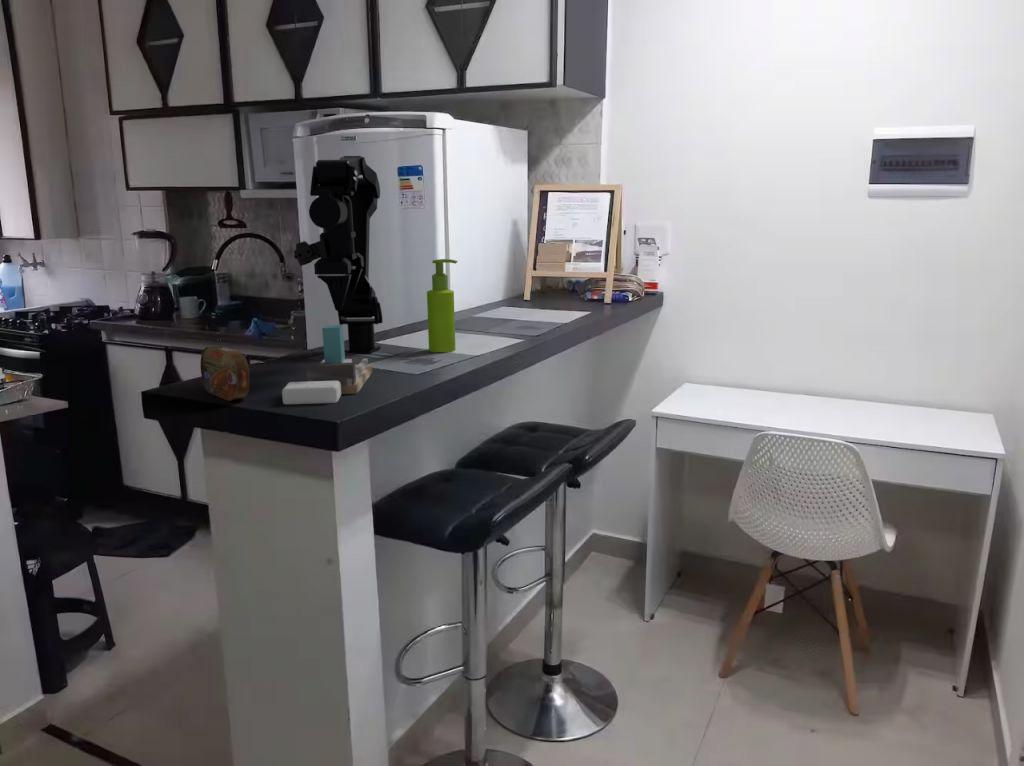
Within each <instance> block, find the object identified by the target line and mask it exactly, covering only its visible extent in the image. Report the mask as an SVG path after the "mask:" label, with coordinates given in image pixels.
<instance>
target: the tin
mask: <svg viewBox="0 0 1024 766" xmlns="http://www.w3.org/2000/svg"><path fill="white" fill-rule="evenodd" d="M199 368H200V375H201V378H202V383H203V386H204V388H205V390H206V391H207V392H208V394H210V393H211V394H210V395H212V394H213V396H215V395H216V396H215V397H217V396H218V398H219V399H222V398H223V400H225V401H228V402H230V401H236V400H241V399H245V398H246V397H247V395H248V393H249V391H250V372H249V371H250V367H249V363H248V360H247V359H246V356H245V355H244V354H243V353H242V352H240V351H239V350H234V349H231V348H227V347H225V346H205V348H204V349H203V351H202V352H201V356H200V367H199Z"/></svg>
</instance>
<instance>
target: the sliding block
mask: <svg viewBox="0 0 1024 766" xmlns="http://www.w3.org/2000/svg"><path fill="white" fill-rule="evenodd" d="M321 330H322V342H323V343H322V344H323V355H324V356H323V357H324V359H323V360H322V361H320V363H353V360H352V358H346V355H345V354H346V352H345V351H344V349H345V340H344V339H345V337H344V324H342V325H340V324H326V325H324V326H323V327H321Z"/></svg>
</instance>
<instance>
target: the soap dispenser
mask: <svg viewBox="0 0 1024 766" xmlns="http://www.w3.org/2000/svg"><path fill="white" fill-rule="evenodd" d="M458 262H459V261H458V260H456V259H450V258H439V259H433V260H432V264H435V273H433V274H432V275H431V285H432V286H431V287H432V289H431V290H428V291H426V302H427V303H426V304H427V305H426V307H427V331H428V334H427V335H428V337H427V338H428V351H429V352H430V351H431V352H430V353H437V352H444V353H451V352H450V351H452V352H454V350H455V351H456V325H455V324H456V322H455V291H454V290H452V289H449V285H448V282H449V280H448V276H449V275H448V274H446V273H444V263H449V264H450V263H451V264H457V263H458Z"/></svg>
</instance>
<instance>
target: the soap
mask: <svg viewBox="0 0 1024 766" xmlns="http://www.w3.org/2000/svg"><path fill="white" fill-rule="evenodd" d="M281 394H282V395H281V397H282V403H283V405H309V404H311V405H312V404H314V405H315V404H334V403H335V404H336V403H337V402H339V400H340V398H341V396H342V394H341V383H340V382H339V381H337V380H336V381H306V380H305V381H290V382H288V383H287V384H286V386H285V387H283V389H282V390H281Z"/></svg>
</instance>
